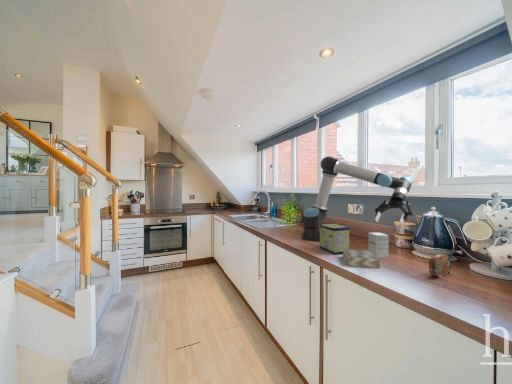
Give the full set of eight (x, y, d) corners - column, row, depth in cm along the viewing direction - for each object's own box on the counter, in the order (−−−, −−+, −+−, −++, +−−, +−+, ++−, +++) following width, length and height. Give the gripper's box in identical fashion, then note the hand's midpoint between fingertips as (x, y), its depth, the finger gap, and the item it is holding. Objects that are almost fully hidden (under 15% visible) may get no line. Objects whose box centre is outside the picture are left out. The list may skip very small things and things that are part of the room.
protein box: (332, 246, 136) (332, 223, 136) (349, 253, 121) (349, 227, 121) (319, 247, 133) (319, 224, 133) (335, 255, 118) (334, 228, 118)
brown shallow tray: (348, 265, 101) (348, 257, 101) (342, 256, 115) (342, 249, 115) (379, 267, 98) (379, 259, 98) (370, 258, 112) (370, 250, 112)
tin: (436, 279, 86) (436, 259, 85) (427, 276, 88) (427, 257, 88) (452, 272, 92) (452, 253, 92) (443, 270, 95) (443, 252, 95)
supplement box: (367, 253, 120) (367, 232, 120) (379, 253, 120) (379, 232, 120) (376, 258, 112) (376, 235, 112) (389, 257, 113) (388, 234, 113)
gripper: (425, 200, 121) (414, 229, 113) (380, 199, 142) (369, 223, 134) (421, 192, 118) (410, 220, 110) (376, 192, 139) (364, 216, 131)
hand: (387, 222), depth 122 cm, fingers open, 13 cm apart
